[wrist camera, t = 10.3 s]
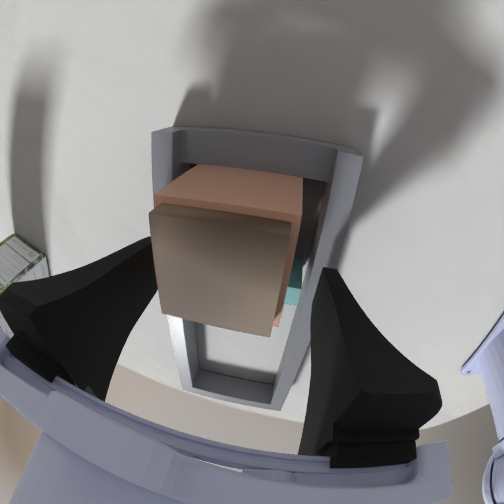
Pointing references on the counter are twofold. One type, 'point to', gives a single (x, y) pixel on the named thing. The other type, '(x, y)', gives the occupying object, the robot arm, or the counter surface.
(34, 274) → the syrup box
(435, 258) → the counter surface
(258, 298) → the tan cardboard cube box
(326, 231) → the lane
